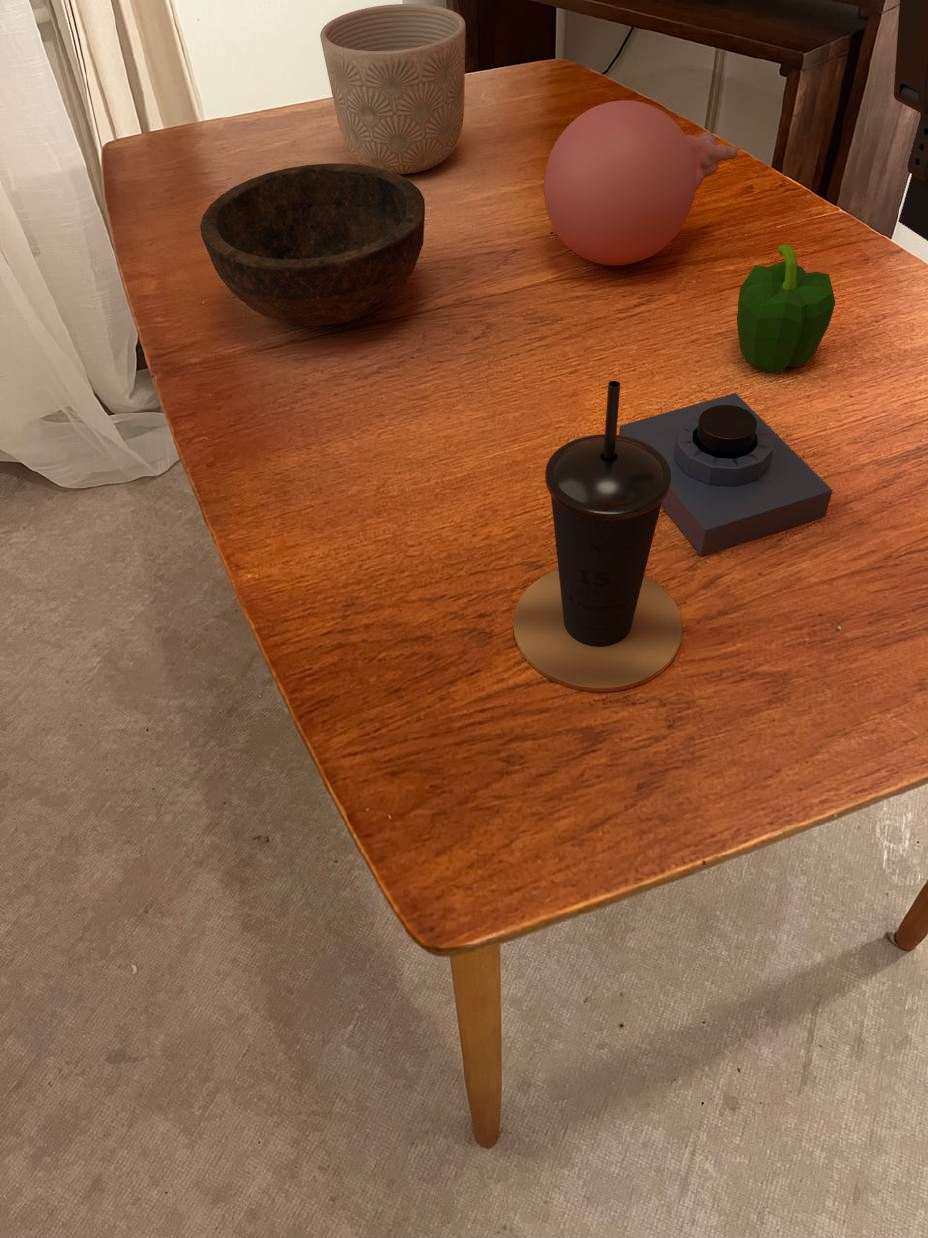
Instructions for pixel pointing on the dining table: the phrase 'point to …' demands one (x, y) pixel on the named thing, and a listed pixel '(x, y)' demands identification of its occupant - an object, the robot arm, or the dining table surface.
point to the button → (726, 431)
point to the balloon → (625, 181)
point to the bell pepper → (783, 314)
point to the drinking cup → (604, 526)
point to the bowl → (316, 241)
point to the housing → (730, 481)
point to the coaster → (588, 665)
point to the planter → (397, 83)
